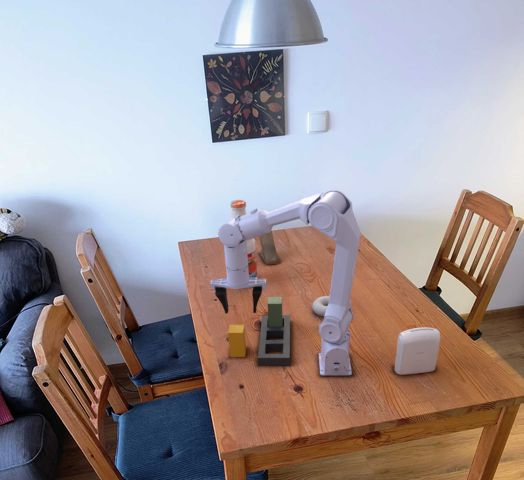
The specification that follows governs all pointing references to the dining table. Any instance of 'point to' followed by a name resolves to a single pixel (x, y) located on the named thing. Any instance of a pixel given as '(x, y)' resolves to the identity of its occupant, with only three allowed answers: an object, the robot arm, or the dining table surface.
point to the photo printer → (417, 350)
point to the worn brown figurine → (268, 249)
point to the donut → (321, 305)
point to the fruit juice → (239, 209)
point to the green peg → (275, 312)
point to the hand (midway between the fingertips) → (240, 311)
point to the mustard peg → (237, 340)
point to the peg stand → (274, 343)
